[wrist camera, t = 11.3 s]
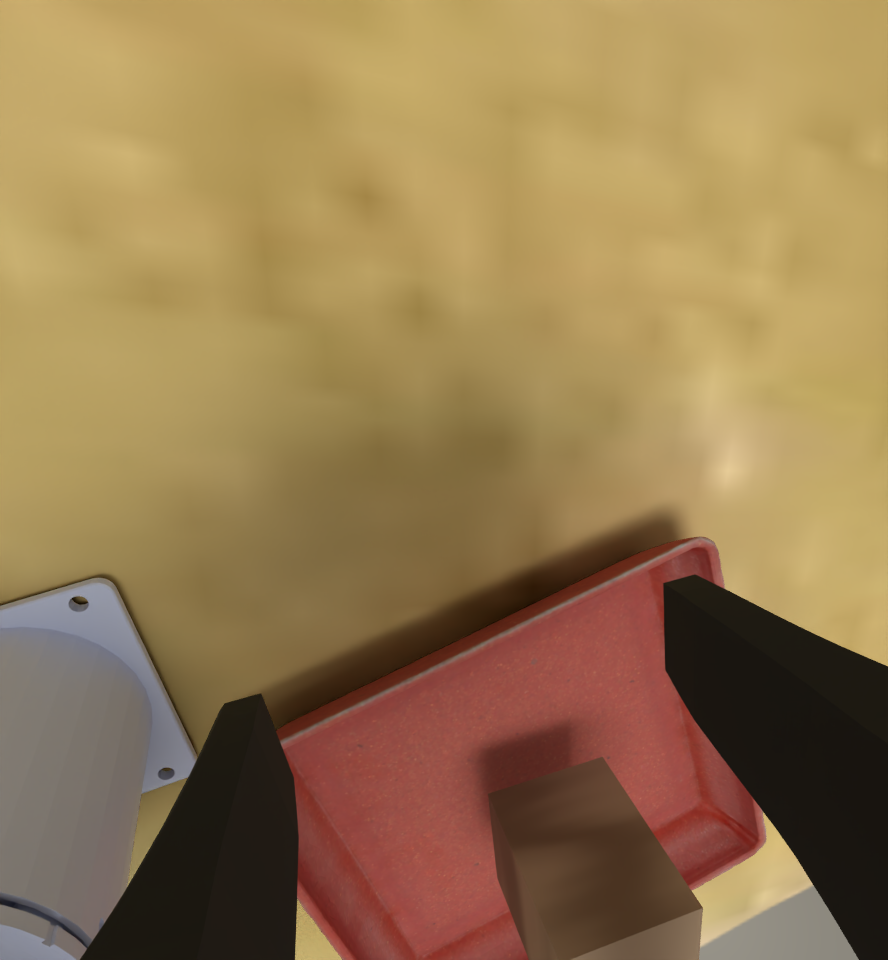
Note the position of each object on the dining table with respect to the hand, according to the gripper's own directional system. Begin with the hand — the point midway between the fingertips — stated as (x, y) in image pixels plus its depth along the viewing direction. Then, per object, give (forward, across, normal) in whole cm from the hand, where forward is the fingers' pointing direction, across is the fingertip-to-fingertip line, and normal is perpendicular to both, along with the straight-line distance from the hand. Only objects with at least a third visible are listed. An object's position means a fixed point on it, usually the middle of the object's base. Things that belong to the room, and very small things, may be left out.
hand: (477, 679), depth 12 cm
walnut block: (+8, -3, +15) cm, 17 cm away
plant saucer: (+11, -2, +15) cm, 19 cm away
